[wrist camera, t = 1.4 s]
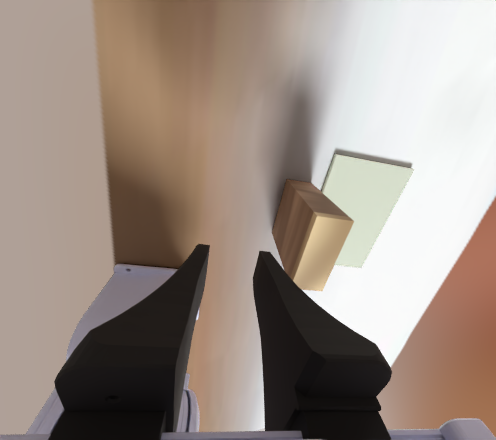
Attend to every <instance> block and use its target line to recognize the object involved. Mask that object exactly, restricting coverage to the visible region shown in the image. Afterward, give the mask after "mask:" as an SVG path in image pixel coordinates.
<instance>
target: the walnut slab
mask: <svg viewBox="0 0 496 440" xmlns="http://www.w3.org/2000/svg"><path fill="white" fill-rule="evenodd" d="M353 223H354V221H353V220H352V219H351V218H350V217H349V216H348V215H347V214H346V213H344V212H343V211H342V210H341V209H340V208H339V207H338V206H337V205H335V204H334V203H333V202H332V201H331V200H330V199H329V198H328V197H326V196H325V195H324V194H323V193H322V192H321V191H320V190H319V189H317V188H316V187H315V186H314V185H313V184H312V183H308V182H302V181H296V180H290V179H286V183H285V187H284V191H283V194H282V198H281V202H280V205H279V209H278V213H277V216H276V220H275V224H274V227H273V231H272V234H273V237H274V240H275V243H276V246H277V249H278V252H279V255H280V258H281V261H282V264H283V267H284V270H285V272H286V273H287V274H288V276H289V277H290V278H291V279H292V280H293V281H294V282H295V283H296V285H297V286H298V287H299V288H300V289H303V290H314V291H322V290H323V288H324V286H325V284H326V282H327V279H328V277H329V275H330V273H331V271H332V269H333V266H334V264H335V262H336V260H337V258H338V256H339V254H340V251H341V249H342V247H343V245H344V243H345V241H346V238H347V236H348V234H349V232H350V230H351V228H352V225H353Z"/></svg>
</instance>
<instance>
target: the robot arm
mask: <svg viewBox="0 0 496 440" xmlns="http://www.w3.org/2000/svg"><path fill="white" fill-rule="evenodd" d="M209 248H210V245H203V244H198V245H197V246H196V248H195V249H194V251H193V252H192V253H191V255H190V256H189V257H188V259H187V260H186V261H185V262H184V263H183V265H182V266H181V267H180V268H179V269H170V268H160V267H149V266H138V265H128V264H116V265H115V267H114V274H113V276H112V277H111V278H110V280H109V281H108V283H107V284H106V285H105V286H104V288H103V289H102V291H101V292H100V293H99V295H98V296H97V297H96V299H95V300H94V301H93V303H92V304H91V306H90V307H89V308H88V310H87V311H86V313H85V314H84V315H83V317H82V318H81V320H80V321H79V323H78V325H77V327H76V329H75V331H74V333H73V335H72V338H71V340H70V343H69V346H68V350H67V357H66V363H65V364H64V366H63V367H62V369H61V370H60V372H59V373H58V375H57V377H56V379H55V389H54V390H53V392H52V393H51V395H50V397H49V398H48V400H47V401H46V403H45V404H44V406H43V407H42V409H41V410H40V412H39V414H38V415H37V417H36V418H35V420H34V422H33V423H32V425H31V426H30V428H29V429H28V431H27V433H26V434H23V435H0V440H496V438H495V436H494V435H493V434H492V433H491V432H490V430H489V429H488V428H487V427H486V425H485V424H484V423H483V422H482V420H480V419H478V418H477V419H475V418H466V419H465V418H462V419H452V420H449V421H447V422H445V423H444V424H442V426H440V429H392V430H387V429H386V427H385V424H384V423H383V420H382V419H381V416H380V414H379V412H378V411H380V410H381V406H380V404H379V402H378V400H377V398H376V396H377V395H378V394H379V393H380V392H381V390H382V389H383V388H384V387H385V386H386V385H387V383H388V382H389V381H390V378H391V374H392V371H391V368H390V366H389V364H388V363H387V361H386V360H385V358H384V356H383V355H382V353H381V352H380V350H379V348H378V347H377V345H376V344H375V343H373V342H371V341H370V340H368V339H366V338H365V337H363V336H361V335H359V334H358V333H356V332H354V331H353V330H351V329H350V328H348V327H347V326H345V325H344V324H342V323H341V322H339V321H338V320H337V319H335V318H334V317H333V316H331V315H330V314H329V313H327V312H326V311H325V310H324V309H322V308H321V307H320V306H319V305H317V304H316V303H315V302H314V301H313V300H312V299H311V298H310V297H308V296H307V295H306V294H305V293H304V292H303V291H302V290H301V289H300V288H299V287H298V286H297V285H296V283H295V282H294V281H293V280H292V279H291V278H290V277H289V276H288V274H287V273H286V272H285V271H284V270H283V268H282V267H281V266H280V264H279V263H278V262H277V261H276V259H275V258H274V257H273V255H272V254H271V253H270V252H265V251H260V252H259V256H258V260H257V264H256V268H255V272H254V276H253V290H254V299H255V305H256V311H257V317H258V323H259V329H260V336H261V347H262V362H263V381H264V407H265V431H245V432H199V420H200V419H199V407H198V403H197V398H196V395H195V393H194V391H193V390H191V389H188V383H189V377H190V374H188V373H186V370H187V364H188V358H189V352H190V346H191V340H192V335H193V330H194V326H195V322H196V320H197V319H198V316H199V308H200V303H201V299H202V295H203V291H204V286H205V279H206V273H207V264H208V256H209ZM129 269H130V270H129Z"/></svg>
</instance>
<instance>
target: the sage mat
mask: <svg viewBox="0 0 496 440" xmlns="http://www.w3.org/2000/svg"><path fill="white" fill-rule="evenodd" d="M413 171H414V169H412V168H407V167H402V166H396V165H391V164H386V163H381V162H375V161H370V160H365V159H360V158H354V157H349V156H344V155H339V154H334V157H333V160H332V163H331V166H330V169H329V171H328V174H327V177H326V180H325V183H324V185H323V188H322V191H321V192H322V193H323V194H324V195H325V196H326V197H328V198H329V199H330V200H331V201H332V202H333V203H334V204H335V205H337V206H338V207H339V208H340V209H341V210H342V211H343V212H344V213H346V214H347V215H348V216H349V217H350V218H351V219H352V220H353V221H354V223H353V225H352V228H351V230H350V232H349V234H348V236H347V238H346V241H345V243H344V245H343V247H342V249H341V251H340V254H339V256H338V258H337V260H336V262H335V264H334V265H339V266H348V267H358V268H362V266H363V264H364V262H365V260H366V258H367V256H368V255H369V253H370V251H371V249H372V247H373V245H374V243H375V242H376V240H377V238H378V236H379V234H380V232H381V230H382V229H383V227H384V225H385V223H386V221H387V219H388V217H389V216H390V214H391V212H392V210H393V208H394V206H395V205H396V203H397V201H398V199H399V197H400V195H401V193H402V192H403V190H404V188H405V186H406V184H407V182H408V180H409V179H410V177H411V175H412V173H413Z"/></svg>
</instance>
